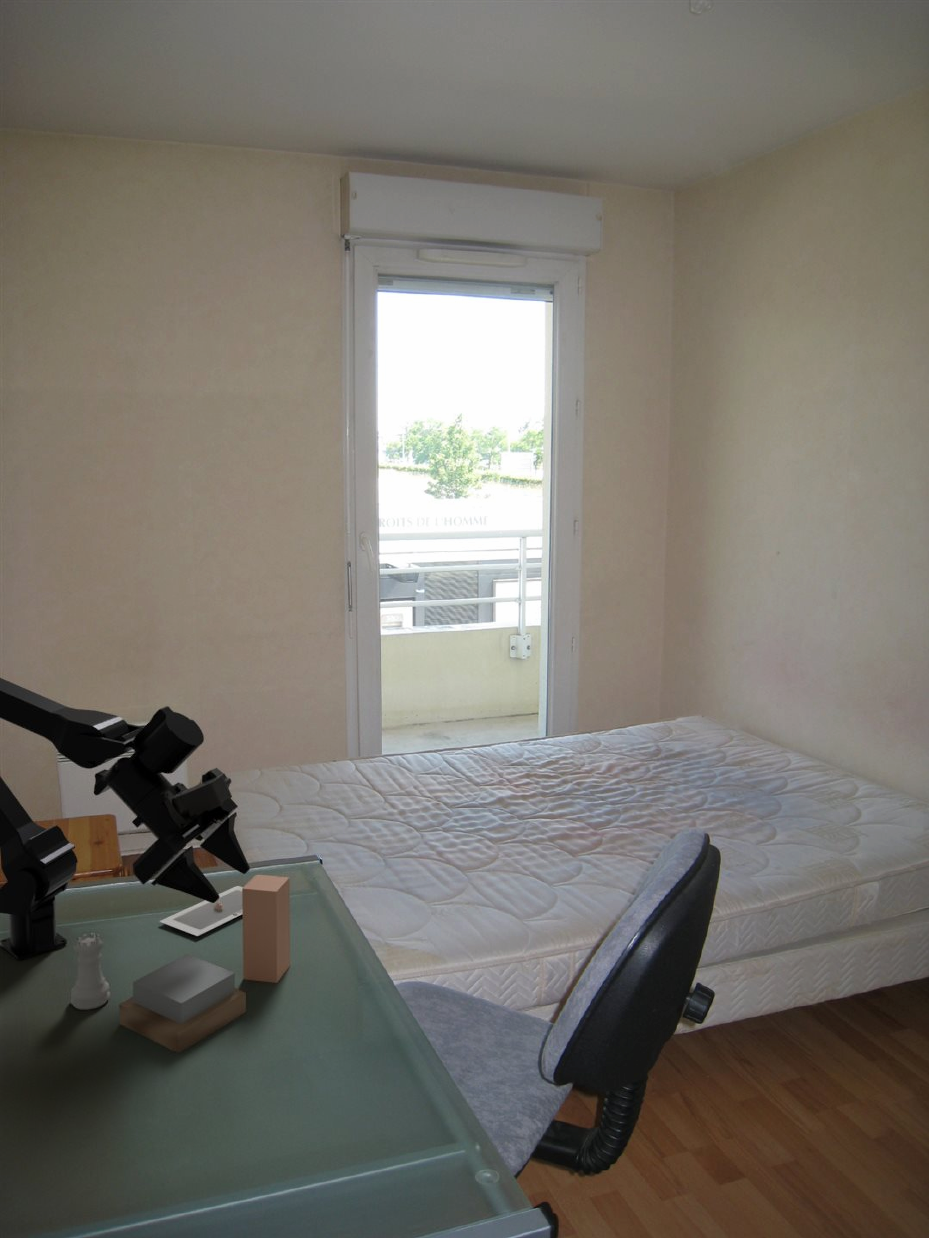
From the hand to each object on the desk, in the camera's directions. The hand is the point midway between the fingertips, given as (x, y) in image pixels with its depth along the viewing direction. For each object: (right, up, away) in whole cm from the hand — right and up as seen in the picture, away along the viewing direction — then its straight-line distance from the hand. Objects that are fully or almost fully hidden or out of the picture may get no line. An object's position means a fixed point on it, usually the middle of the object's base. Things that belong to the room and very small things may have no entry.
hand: (232, 885), depth 119 cm
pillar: (+4, -11, +1) cm, 12 cm away
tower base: (-3, -13, -10) cm, 17 cm away
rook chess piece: (-15, -12, -7) cm, 21 cm away
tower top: (-3, -10, -11) cm, 15 cm away
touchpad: (-6, -10, +17) cm, 21 cm away
